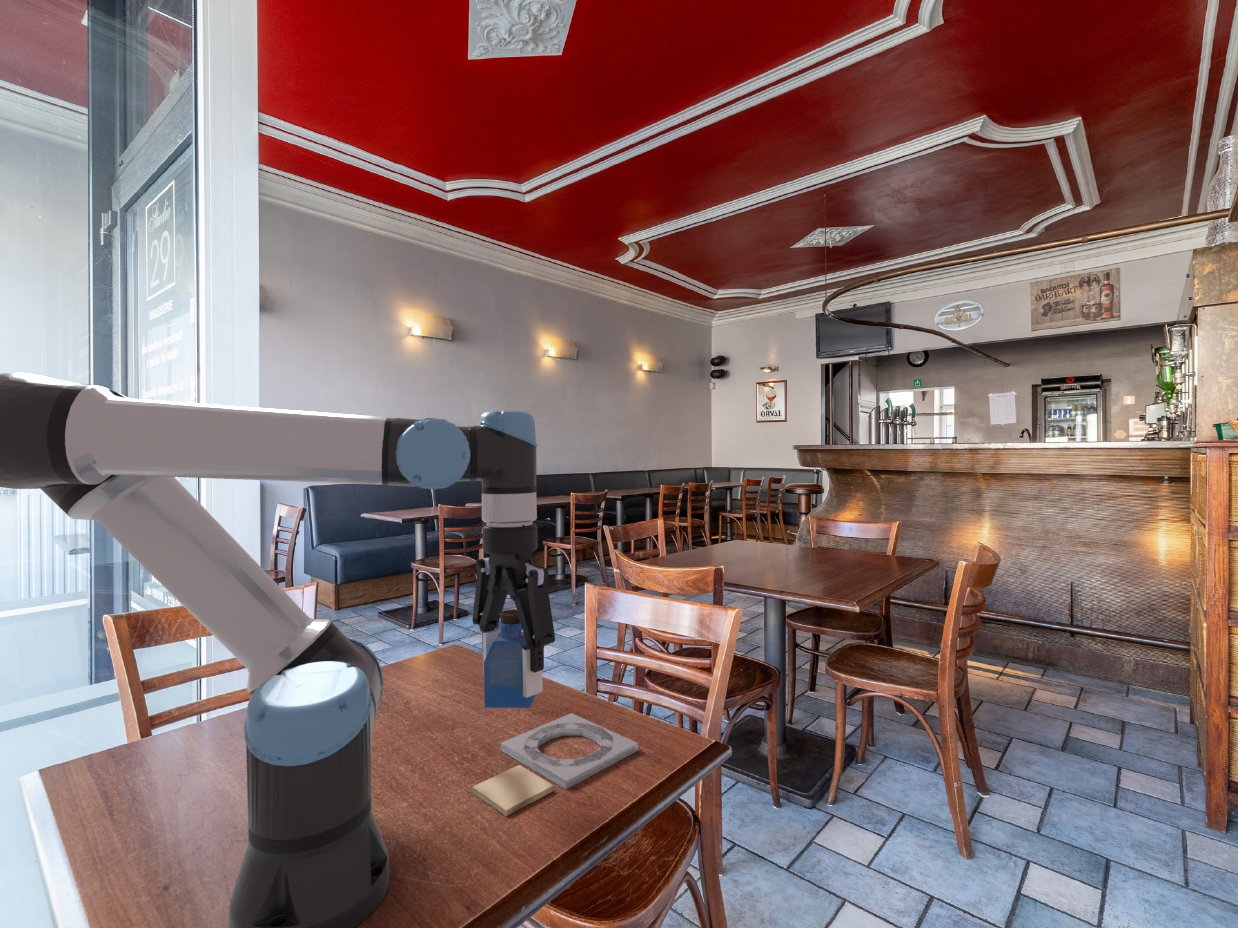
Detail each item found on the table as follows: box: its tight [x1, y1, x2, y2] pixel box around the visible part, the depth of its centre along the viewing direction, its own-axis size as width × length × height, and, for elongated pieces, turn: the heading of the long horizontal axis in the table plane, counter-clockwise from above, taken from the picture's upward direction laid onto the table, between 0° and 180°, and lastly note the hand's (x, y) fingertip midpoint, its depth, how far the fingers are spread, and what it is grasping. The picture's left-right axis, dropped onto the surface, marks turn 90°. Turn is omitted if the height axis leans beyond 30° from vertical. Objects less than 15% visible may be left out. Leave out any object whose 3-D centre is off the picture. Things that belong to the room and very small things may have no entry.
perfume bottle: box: [483, 609, 537, 709], centre depth 83 cm, size 6×6×12 cm
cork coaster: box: [471, 764, 554, 817], centre depth 83 cm, size 8×8×1 cm
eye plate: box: [500, 712, 639, 790], centre depth 95 cm, size 15×16×1 cm
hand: (512, 684), depth 83 cm, fingers closed on perfume bottle, 9 cm apart
